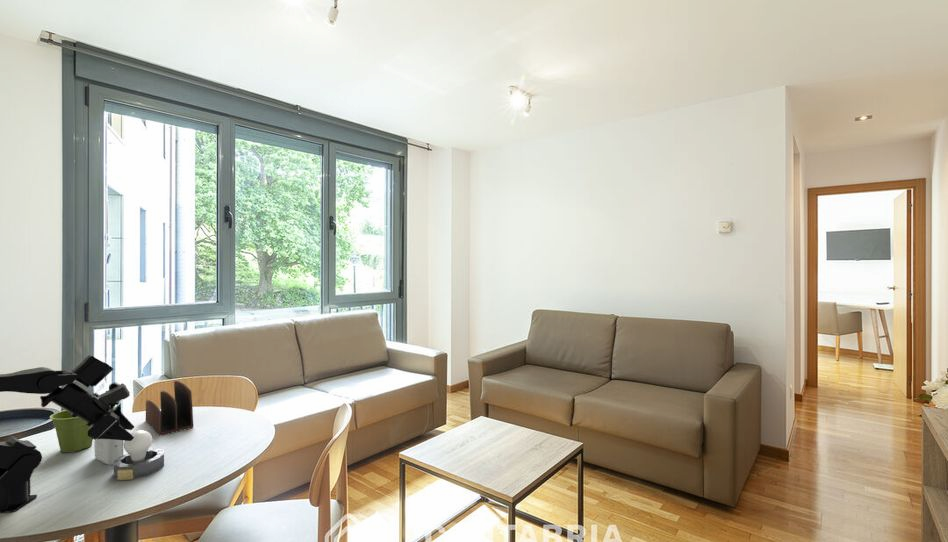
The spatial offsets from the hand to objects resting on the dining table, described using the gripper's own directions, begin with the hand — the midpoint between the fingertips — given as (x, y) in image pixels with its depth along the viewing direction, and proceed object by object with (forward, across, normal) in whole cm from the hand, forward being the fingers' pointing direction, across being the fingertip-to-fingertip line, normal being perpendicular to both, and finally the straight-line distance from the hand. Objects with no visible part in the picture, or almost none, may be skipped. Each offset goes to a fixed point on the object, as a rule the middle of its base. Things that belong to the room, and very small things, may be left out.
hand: (132, 433), depth 120 cm
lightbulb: (+8, 0, +7) cm, 11 cm away
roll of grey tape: (+8, 0, +6) cm, 11 cm away
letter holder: (+14, +36, +1) cm, 39 cm away
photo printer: (+4, +13, +12) cm, 18 cm away
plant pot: (-2, +29, +18) cm, 34 cm away
